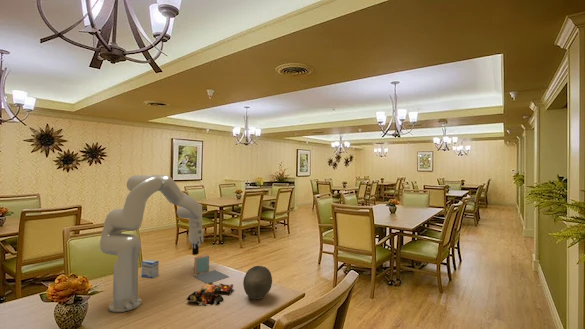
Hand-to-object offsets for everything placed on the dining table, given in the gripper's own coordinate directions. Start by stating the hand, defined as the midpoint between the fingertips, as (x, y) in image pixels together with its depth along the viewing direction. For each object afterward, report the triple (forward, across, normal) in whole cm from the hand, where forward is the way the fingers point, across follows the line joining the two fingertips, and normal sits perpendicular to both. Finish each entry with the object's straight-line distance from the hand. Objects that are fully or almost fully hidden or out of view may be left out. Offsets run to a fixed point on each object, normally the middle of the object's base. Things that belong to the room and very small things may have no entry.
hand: (195, 254), depth 178 cm
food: (+9, -40, +13) cm, 43 cm away
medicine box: (+8, +6, +24) cm, 26 cm away
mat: (+8, -19, 0) cm, 21 cm away
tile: (+8, -8, 0) cm, 12 cm away
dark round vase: (+8, -58, -1) cm, 59 cm away
